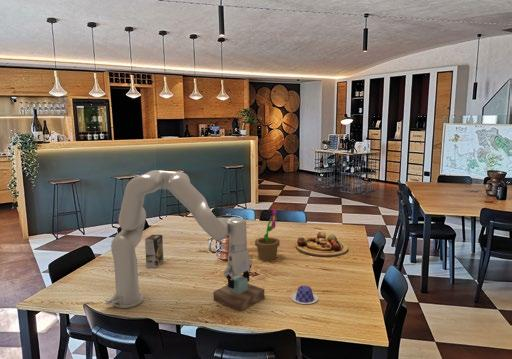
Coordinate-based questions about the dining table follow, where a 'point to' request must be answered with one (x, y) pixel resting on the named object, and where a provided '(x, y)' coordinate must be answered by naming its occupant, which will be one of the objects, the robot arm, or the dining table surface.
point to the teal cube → (239, 284)
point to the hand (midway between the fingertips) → (238, 284)
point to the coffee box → (154, 251)
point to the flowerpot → (268, 243)
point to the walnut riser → (239, 297)
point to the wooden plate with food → (321, 246)
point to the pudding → (304, 295)
